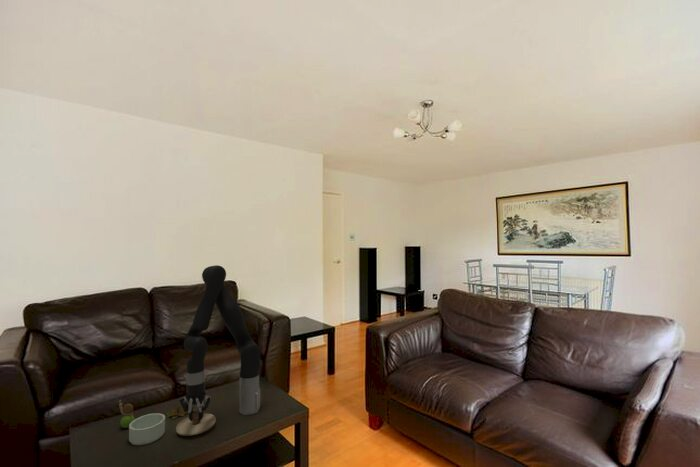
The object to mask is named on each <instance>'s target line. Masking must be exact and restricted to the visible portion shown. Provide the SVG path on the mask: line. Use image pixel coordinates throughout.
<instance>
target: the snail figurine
mask: <svg viewBox="0 0 700 467" xmlns="http://www.w3.org/2000/svg"><path fill="white" fill-rule="evenodd" d="M118 406H119V411H120V414H122V415H123V416H122V417H121V418H120V421H119V424H120V426H121V427H120V428H123V429H129V424H130V423H131V422H132V421H134V420H135V419H136V418H135V416H134V415H133V414H134V412H133V411H134V406H133V404H131V403H126V404H125V405H124V404H123V403H122V400H121V399H120V400H118Z"/></svg>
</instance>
